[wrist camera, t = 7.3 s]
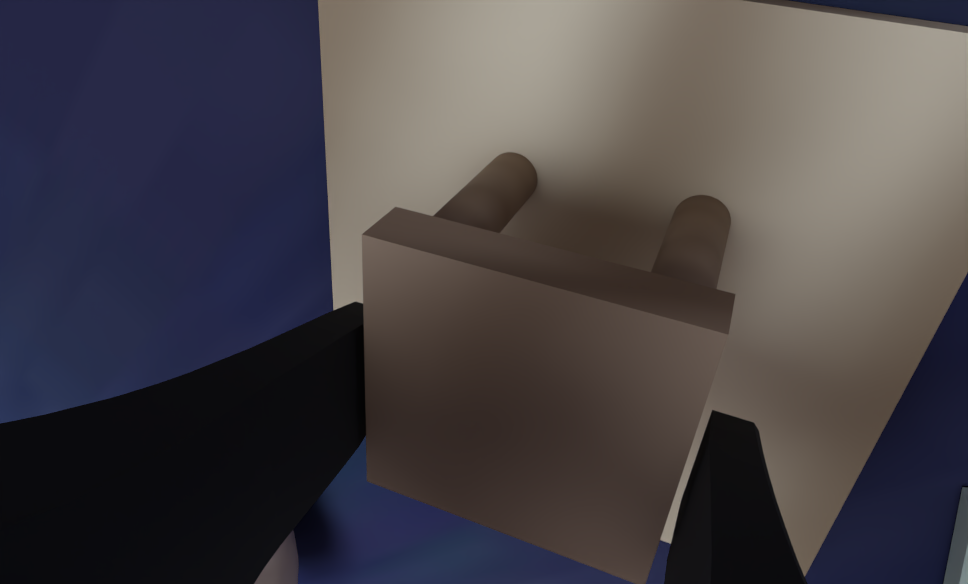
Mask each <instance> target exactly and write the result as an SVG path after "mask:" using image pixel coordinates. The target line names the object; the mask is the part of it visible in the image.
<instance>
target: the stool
mask: <svg viewBox="0 0 968 584" xmlns="http://www.w3.org/2000/svg"><path fill="white" fill-rule="evenodd" d="M537 180H538V179H537V173H536V170H535V168H534V166H533V164H532V163H531V162H530V161H529V160H528V159H527V158H526V157H524V156H523V155H521V154H518V153H514V152H506V153H502V154H500V155H498V156H497V157H496V158H495V159H493V160H492V161H491V162H490V163H489V164H488V165H487V166H486V167H485V168H484V169H483V170H482V171H481V172H480V173H478V174H477V175H476V176H475V177H474V178H473V179H472V180H471V181H470V182H469V183H468V184H467V185H466V186H465V187H463V188H462V189H461V190H460V191H459V192H458V193H457V194H456V195H455V196H454V197H453V198H452V199H451V200H450V201H448V202H447V203H446V204H445V205H444V206H443V207H442V208H441V209H440V210H439V211H438V212H437V213H436V214H435V215H433V216H430V215H426V214H422V213H419V212H415V211H411V210H407V209H403V208H399V207H394V208H393V209H392V210H391V211H390V212H388V213H387V214H386V215H385V216H383V217H382V218H381V219H380V220H379V221H377V222H376V223H375V224H374V225H373V226H371V227H370V228H369V229H368V230H366V231H365V232H364V233H363V234H362V271H363V317H364V363H365V409H366V455H367V481H368V482H371V483H373V484H376V485H379V486H381V487H384V488H386V489H389V490H392V491H394V492H397V493H400V494H402V495H405V496H407V497H410V498H413V499H415V500H418V501H420V502H423V503H426V504H428V505H431V506H434V507H436V508H439V509H441V510H444V511H447V512H449V513H452V514H455V515H457V516H460V517H462V518H465V519H468V520H470V521H473V522H476V523H478V524H481V525H483V526H486V527H489V528H491V529H494V530H497V531H499V532H502V533H504V534H507V535H510V536H512V537H515V538H518V539H520V540H523V541H525V542H528V543H531V544H533V545H536V546H539V547H541V548H544V549H546V550H549V551H552V552H554V553H557V554H559V555H562V556H565V557H567V558H570V559H573V560H575V561H578V562H580V563H583V564H586V565H588V566H591V567H594V568H596V569H599V570H601V571H604V572H607V573H609V574H612V575H615V576H617V577H620V578H622V579H625V580H628V581H630V582H633V583H636V584H645V583H646V580H647V577H648V574H649V571H650V568H651V565H652V563H653V560H654V557H655V554H656V551H657V548H658V545H659V542H660V539H661V536H662V533H663V530H664V527H665V524H666V521H667V518H668V515H669V512H670V509H671V506H672V503H673V500H674V497H675V494H676V491H677V488H678V485H679V482H680V479H681V476H682V473H683V470H684V467H685V464H686V461H687V458H688V455H689V452H690V449H691V446H692V443H693V440H694V437H695V434H696V431H697V428H698V425H699V422H700V419H701V416H702V413H703V410H704V407H705V404H706V401H707V398H708V395H709V392H710V389H711V386H712V383H713V380H714V377H715V374H716V371H717V368H718V365H719V362H720V359H721V356H722V353H723V350H724V347H725V344H726V341H727V338H728V335H729V329H730V324H731V318H732V312H733V306H734V300H735V295H736V294H734V293H730V292H726V291H722V290H718V289H717V284H718V280H719V275H720V271H721V266H722V261H723V257H724V252H725V248H726V243H727V239H728V234H729V230H730V225H731V217H730V213H729V211H728V209H727V207H726V206H725V205H724V204H723V203H722V202H721V201H720V200H718V199H716V198H714V197H712V196H708V195H695V196H691V197H689V198H686V199H685V200H683V201H682V202H681V203H680V204H679V205H678V206H677V208H676V209H675V211H674V214H673V216H672V219H671V222H670V224H669V227H668V229H667V232H666V234H665V237H664V240H663V242H662V245H661V247H660V250H659V252H658V255H657V257H656V260H655V263H654V265H653V268H652V270H651V272H648V271H644V270H640V269H636V268H633V267H629V266H625V265H621V264H617V263H613V262H609V261H605V260H601V259H598V258H594V257H590V256H586V255H582V254H578V253H574V252H570V251H566V250H563V249H559V248H555V247H551V246H547V245H543V244H539V243H535V242H531V241H528V240H524V239H520V238H516V237H512V236H508V235H504V234H500V232H501V231H502V230H503V229H504V227H505V226H506V225H507V224H508V223H509V221H510V220H511V219H512V218H513V217H514V215H515V214H516V213H517V212H518V211H519V210H520V208H521V207H522V206H523V205H524V204H525V202H526V201H527V200H528V199H529V198H530V196H531V195H532V194H533V193H534V191H535V189H536V187H537Z"/></svg>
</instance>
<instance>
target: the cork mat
mask: <svg viewBox="0 0 968 584" xmlns="http://www.w3.org/2000/svg"><path fill="white" fill-rule="evenodd" d="M318 8H319V28H320V48H321V68H322V88H323V108H324V128H325V148H326V168H327V188H328V208H329V228H330V248H331V268H332V288H333V308H334V310H336V309H338V308H340V307H343V306H345V305H348V304H350V303H353V302H355V301H356V302H359V303H363V271H362V234H363V233H364V232H365V231H366V230H368V229H369V228H370V227H371V226H373V225H374V224H375V223H376V222H377V221H379V220H380V219H381V218H382V217H383V216H385V215H386V214H387V213H388V212H390V211H391V210H392V209H393V208H394V207H399V208H403V209H407V210H411V211H415V212H419V213H422V214H426V215H430V216H433V215H435V214H436V213H437V212H438V211H439V210H440V209H441V208H442V207H443V206H444V205H445V204H446V203H447V202H448V201H450V200H451V199H452V198H453V197H454V196H455V195H456V194H457V193H458V192H459V191H460V190H461V189H462V188H463V187H465V186H466V185H467V184H468V183H469V182H470V181H471V180H472V179H473V178H474V177H475V176H476V175H477V174H478V173H480V172H481V171H482V170H483V169H484V168H485V167H486V166H487V165H488V164H489V163H490V162H491V161H492V160H493V159H495V158H496V157H497V156H498V155H500V154H502V153H506V152H514V153H518V154H521V155H523V156H524V157H526V158H527V159H528V160H529V161H530V162H531V163H532V164H533V166H534V168H535V170H536V173H537V179H538V180H537V187H536V189H535V191H534V193H533V194H532V195H531V196H530V198H529V199H528V200H527V201H526V202H525V204H524V205H523V206H522V207H521V208H520V210H519V211H518V212H517V213H516V214H515V215H514V217H513V218H512V219H511V220H510V221H509V223H508V224H507V225H506V226H505V227H504V229H503V230H502V231H501V232H500V234H504V235H508V236H512V237H516V238H520V239H524V240H528V241H531V242H535V243H539V244H543V245H547V246H551V247H555V248H559V249H563V250H566V251H570V252H574V253H578V254H582V255H586V256H590V257H594V258H598V259H601V260H605V261H609V262H613V263H617V264H621V265H625V266H629V267H633V268H636V269H640V270H644V271H648V272H651V270H652V268H653V265H654V263H655V260H656V257H657V255H658V252H659V250H660V247H661V245H662V242H663V240H664V237H665V234H666V232H667V229H668V227H669V224H670V222H671V219H672V216H673V214H674V211H675V209H676V208H677V206H678V205H679V204H680V203H681V202H682V201H683V200H685V199H686V198H689V197H691V196H695V195H708V196H712V197H714V198H716V199H718V200H720V201H721V202H722V203H723V204H724V205H725V206H726V207H727V209H728V211H729V213H730V217H731V225H730V230H729V234H728V239H727V243H726V248H725V252H724V257H723V261H722V266H721V271H720V275H719V280H718V284H717V289H718V290H722V291H726V292H730V293H734V294H736V295H735V300H734V306H733V312H732V318H731V324H730V329H729V335H728V338H727V341H726V344H725V347H724V350H723V353H722V356H721V359H720V362H719V365H718V368H717V371H716V374H715V377H714V380H713V383H712V386H711V389H710V392H709V395H708V398H707V401H706V404H705V407H704V410H703V413H702V416H701V419H700V422H699V425H698V428H697V431H696V434H695V437H694V440H693V443H692V446H691V449H690V452H689V455H688V458H687V461H686V464H685V467H684V470H683V473H682V476H681V479H680V482H679V485H678V488H677V491H676V494H675V497H674V500H673V503H672V506H671V509H670V512H669V515H668V518H667V521H666V524H665V527H664V530H663V533H662V536H661V539H660V540H662V541H665V542H667V543H670V544H671V541H672V537H673V532H674V528H675V524H676V520H677V515H678V511H679V507H680V503H681V499H682V496H683V493H684V490H685V488H686V485H687V482H688V479H689V476H690V473H691V470H692V467H693V464H694V461H695V458H696V456H697V453H698V450H699V447H700V444H701V441H702V438H703V435H704V432H705V429H706V426H707V424H708V421H709V418H710V415H711V412H712V410H715V411H718V412H721V413H724V414H728V415H731V416H734V417H738V418H741V419H744V420H748V421H751V422H754V423H755V425H756V427H757V428H758V430H759V433H760V439H761V444H762V449H763V453H764V457H765V462H766V465H767V469H768V473H769V477H770V480H771V483H772V487H773V490H774V494H775V497H776V500H777V503H778V506H779V509H780V513H781V515H782V518H783V521H784V524H785V527H786V529H787V532H788V535H789V538H790V541H791V544H792V546H793V549H794V552H795V554H796V557H797V560H798V562H799V565H800V567H801V570H802V572H803V575H804V577H805V575H806V573H807V571H808V570H809V568H810V566H811V564H812V562H813V560H814V558H815V556H816V555H817V553H818V551H819V549H820V547H821V545H822V543H823V542H824V540H825V538H826V536H827V534H828V532H829V530H830V528H831V527H832V525H833V523H834V521H835V519H836V517H837V515H838V513H839V512H840V510H841V508H842V506H843V504H844V502H845V500H846V499H847V497H848V495H849V493H850V491H851V489H852V487H853V485H854V484H855V482H856V480H857V478H858V476H859V474H860V472H861V471H862V469H863V467H864V465H865V463H866V461H867V459H868V457H869V456H870V454H871V452H872V450H873V448H874V446H875V444H876V442H877V441H878V439H879V437H880V435H881V433H882V431H883V429H884V428H885V426H886V424H887V422H888V420H889V418H890V416H891V414H892V413H893V411H894V409H895V407H896V405H897V403H898V401H899V400H900V398H901V396H902V394H903V392H904V390H905V388H906V386H907V385H908V383H909V381H910V379H911V377H912V375H913V373H914V372H915V370H916V368H917V366H918V364H919V362H920V360H921V358H922V357H923V355H924V353H925V351H926V349H927V347H928V345H929V343H930V342H931V340H932V338H933V336H934V334H935V332H936V330H937V329H938V327H939V325H940V323H941V321H942V319H943V317H944V315H945V314H946V312H947V310H948V308H949V306H950V304H951V302H952V301H953V299H954V297H955V295H956V293H957V291H958V289H959V287H960V286H961V284H962V282H963V280H964V278H965V276H966V274H967V272H968V26H962V25H955V24H948V23H941V22H934V21H927V20H920V19H913V18H906V17H899V16H892V15H885V14H878V13H871V12H864V11H857V10H850V9H843V8H836V7H829V6H822V5H815V4H808V3H801V2H794V1H787V0H318Z"/></svg>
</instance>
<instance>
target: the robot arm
mask: <svg viewBox="0 0 968 584" xmlns="http://www.w3.org/2000/svg"><path fill="white" fill-rule="evenodd" d="M365 436H366V409H365V363H364V317H363V303H359V302H356V301H355V302H353V303H350V304H348V305H345V306H343V307H340V308H338V309H336V310H334V311H331V312H329V313H327V314H325V315H322V316H320V317H318V318H316V319H314V320H312V321H309V322H307V323H305V324H303V325H301V326H299V327H296V328H294V329H292V330H290V331H288V332H285V333H283V334H281V335H279V336H276V337H274V338H272V339H270V340H267V341H265V342H263V343H261V344H259V345H256V346H254V347H252V348H250V349H247V350H245V351H242V352H240V353H237V354H235V355H232V356H230V357H227V358H225V359H222V360H220V361H217V362H215V363H212V364H210V365H207V366H205V367H202V368H200V369H197V370H195V371H192V372H190V373H187V374H184V375H182V376H179V377H176V378H173V379H170V380H167V381H164V382H162V383H159V384H156V385H152V386H149V387H146V388H143V389H140V390H136V391H133V392H130V393H127V394H123V395H120V396H117V397H113V398H110V399H106V400H102V401H98V402H94V403H90V404H86V405H82V406H78V407H74V408H70V409H66V410H62V411H58V412H54V413H50V414H46V415H41V416H36V417H31V418H26V419H21V420H16V421H11V422H7V423H1V424H0V584H254V583H255V582H256V580H257V578H258V577H259V575H260V574H261V572H262V571H263V569H264V568H265V566H266V565H267V563H268V562H269V561H270V559H271V558H272V557H273V555H274V554H275V552H276V551H277V550H278V548H279V547H280V546H281V544H282V543H283V542H284V541H285V539H286V538H287V537H288V535H289V534H290V533H291V532H292V530H293V529H294V528H295V527H296V525H297V524H298V523H299V522H300V520H301V519H302V518H303V517H304V515H305V514H306V513H307V512H308V510H309V509H310V508H311V507H312V505H313V504H314V503H315V502H316V500H317V499H318V498H319V497H320V495H321V494H322V493H323V492H324V490H325V489H326V488H327V487H328V485H329V484H330V483H331V482H332V480H333V479H334V478H335V477H336V475H337V474H338V473H339V471H340V470H341V469H342V468H343V466H344V465H345V464H346V463H347V461H348V460H349V459H350V457H351V456H352V455H353V454H354V452H355V451H356V450H357V448H358V447H359V445H360V444H361V442H362V441H363V439H364V437H365ZM664 584H807V582H806V579H805V577H804V575H803V572H802V570H801V567H800V565H799V562H798V560H797V557H796V554H795V552H794V549H793V546H792V544H791V541H790V538H789V535H788V532H787V529H786V527H785V524H784V521H783V518H782V515H781V513H780V509H779V506H778V503H777V500H776V497H775V494H774V490H773V487H772V483H771V480H770V477H769V473H768V469H767V465H766V462H765V457H764V453H763V449H762V444H761V439H760V433H759V430H758V428H757V427H756V425H755V423H754V422H751V421H748V420H744V419H741V418H738V417H734V416H731V415H728V414H724V413H721V412H718V411H715V410H712V412H711V415H710V418H709V421H708V424H707V426H706V429H705V432H704V435H703V438H702V441H701V444H700V447H699V450H698V453H697V456H696V458H695V461H694V464H693V467H692V470H691V473H690V476H689V479H688V482H687V485H686V488H685V490H684V493H683V496H682V499H681V503H680V507H679V511H678V515H677V520H676V524H675V528H674V532H673V537H672V541H671V546H670V550H669V554H668V559H667V566H666V574H665V582H664Z"/></svg>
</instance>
